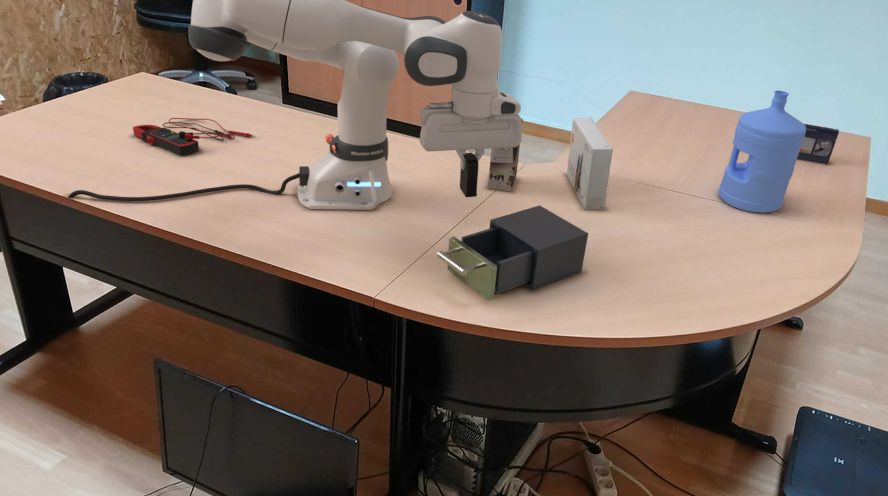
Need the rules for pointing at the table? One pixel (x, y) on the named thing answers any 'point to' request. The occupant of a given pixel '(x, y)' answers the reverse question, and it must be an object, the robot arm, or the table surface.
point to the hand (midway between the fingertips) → (468, 168)
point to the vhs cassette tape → (818, 144)
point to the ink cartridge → (469, 176)
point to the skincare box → (589, 163)
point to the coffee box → (503, 168)
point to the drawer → (489, 261)
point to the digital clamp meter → (178, 137)
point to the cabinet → (546, 243)
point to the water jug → (763, 158)
